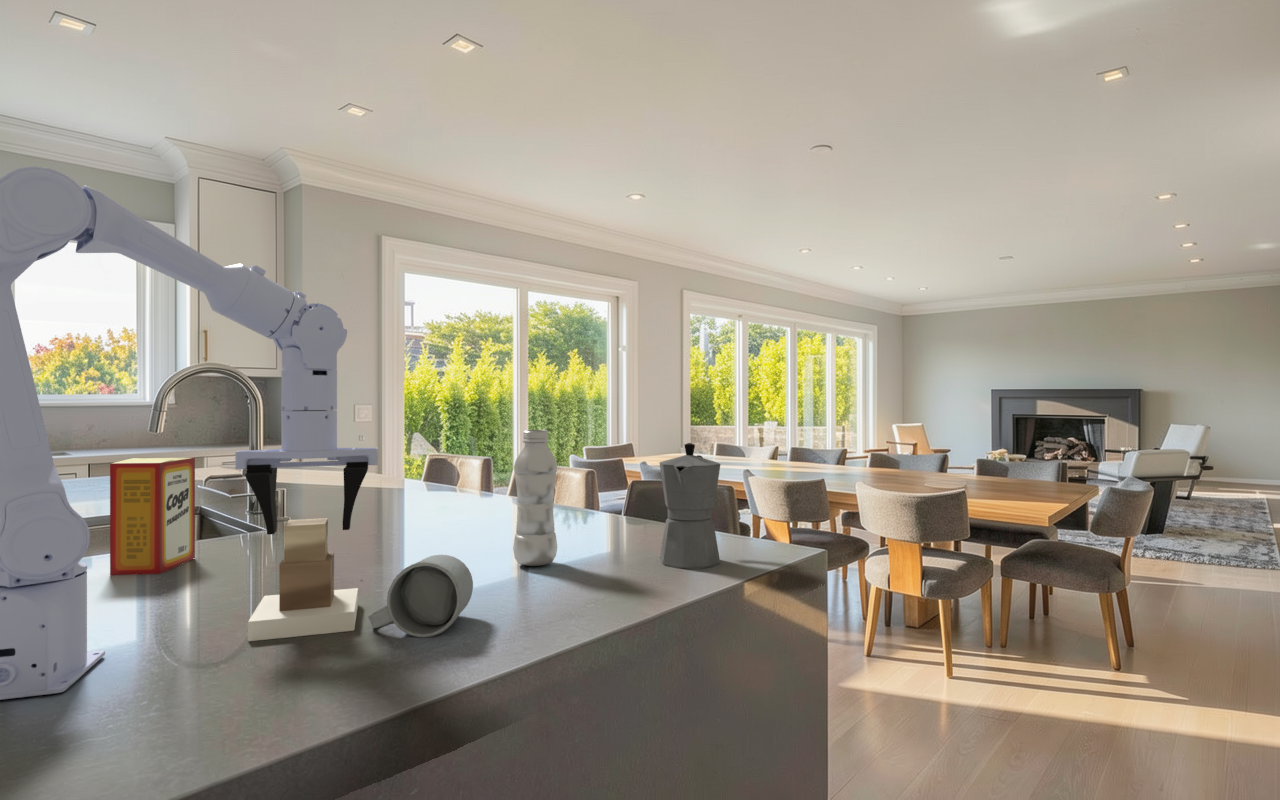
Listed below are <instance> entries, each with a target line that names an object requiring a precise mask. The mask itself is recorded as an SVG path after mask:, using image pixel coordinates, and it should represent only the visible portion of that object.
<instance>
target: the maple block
mask: <svg viewBox="0 0 1280 800" xmlns="http://www.w3.org/2000/svg"><path fill="white" fill-rule="evenodd" d="M283 527H284V529H283V534H284V535H283V536H284V537H283V538H284V540H283V541H284V542H283V544H284V545H283V546H284V547H283V549H284V550H283V551H284V553H283V554H284V555H283V558H284V563H297V562H312V561H325V559H326V557H327V554H328V552H329V518H328V517H322V518H320V517H319V518H305V519H302V518H301V519H289V520H288V521H287V522H286V523H285V524H284V526H283Z"/></svg>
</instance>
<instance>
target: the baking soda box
mask: <svg viewBox="0 0 1280 800" xmlns="http://www.w3.org/2000/svg"><path fill="white" fill-rule="evenodd" d="M195 466H196V458H195V457H147V458H144V457H143V458H142V457H137V458H136V457H133V458H128V459H124V460H120V461H116V462H115V461H114V462H112V463H109V575H110V576H125V575H127V576H129V575H130V576H132V575H161V574H162V573H165V572H168V571H169V570H173V569H174V567H175V568H177V567H179V566H181V565H180V564H182V563H184V562H186V563H188V562H187V561H189V560H191V559H193V558H196V489H195V488H196V478H195V477H196V467H195ZM193 560H194V559H193ZM191 561H192V560H191ZM189 562H190V561H189ZM184 564H185V563H184ZM178 565H179V566H178ZM182 565H183V564H182Z"/></svg>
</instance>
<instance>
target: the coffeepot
mask: <svg viewBox="0 0 1280 800" xmlns="http://www.w3.org/2000/svg"><path fill="white" fill-rule="evenodd" d="M683 446H684V450H685V455H681V456H678V457H674V458H671V459H666V460H663V461H662V460H661V461H659V467H660V475H661V482H662V483H661V484H662V490H663V497H664V498H663V499H664V504H665V506H666V507H667V518H666V519H665V524H664V531H663V537H662V542H661V548H660V549H661V550H660V555H659V560H660V562H661V564H662V565H664V566H667V567H671V568H675V569H682V570H683V569H684V570H685V569H688V570H690V569H691V570H698V569H707V568H714V567H716V566H717V565H718V564H719V563H721V559H720V553H719V548H718V547H719V546H718V542H717V535H716V527H715V523H714V522H715V521H714V519H713V518H712V511H713V509H712V508H714V507H715V504H716V497H717V490H718V484H719V476H720V470H721V465H722V464H721V463H719V462H717V461H715V460H711V459H708V458H704V457H703V456H702V455H698V454H697V455H694V453H695V447H696V444H694V443H691V442H688V443H685V444H683Z"/></svg>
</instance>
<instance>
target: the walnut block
mask: <svg viewBox="0 0 1280 800" xmlns="http://www.w3.org/2000/svg"><path fill="white" fill-rule="evenodd" d="M278 569H279V571H278V572H279V578H278V579H279V580H278V581H279V582H278V583H279V585H278V586H279V588H278V589H279V593H278V595H279V611H289V610H300V609H311V608H322V607H331V604H332V600H333V597H334V590H335V551H328V554H327V557H326V559H325V561H312V562H297V563H284V557H283V558H282V560H281V561H280V563H279V568H278Z"/></svg>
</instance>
